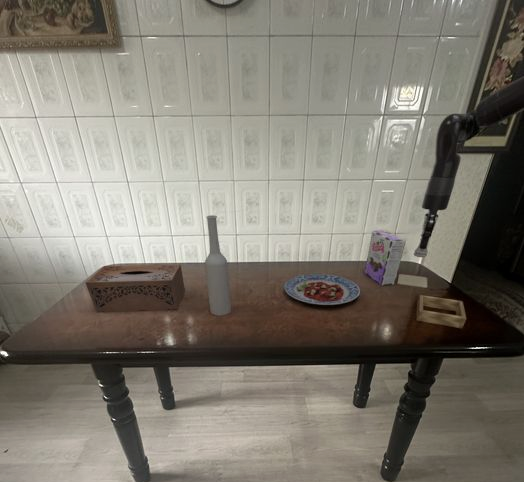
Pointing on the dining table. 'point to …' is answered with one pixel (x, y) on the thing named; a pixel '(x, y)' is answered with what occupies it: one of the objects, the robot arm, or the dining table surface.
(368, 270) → the candy box
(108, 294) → the tissue box cover
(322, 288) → the ceramic plate
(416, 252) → the rook chess piece
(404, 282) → the felt mat
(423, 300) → the wooden box
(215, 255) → the bottle
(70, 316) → the dining table surface
